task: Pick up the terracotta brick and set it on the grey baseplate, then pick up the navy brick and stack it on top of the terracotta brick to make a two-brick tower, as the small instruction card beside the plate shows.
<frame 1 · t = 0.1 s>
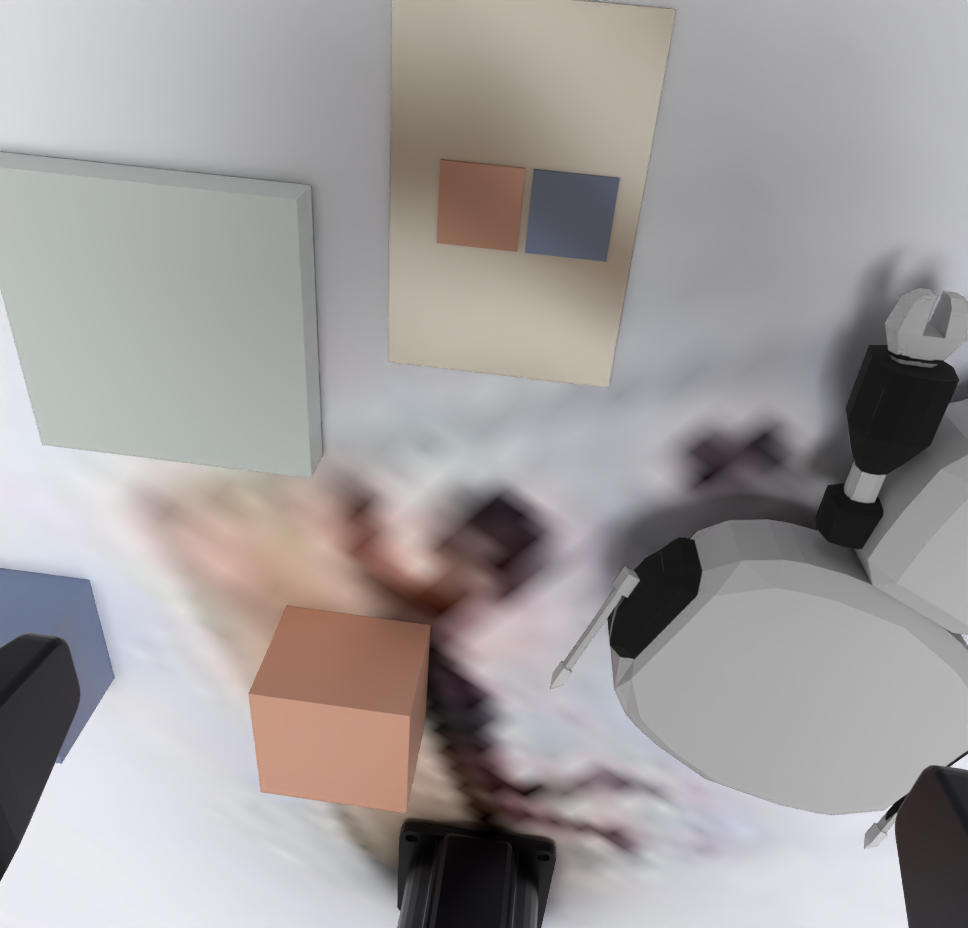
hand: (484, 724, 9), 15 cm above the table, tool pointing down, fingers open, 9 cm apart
instruction card: (513, 206, 20), on the table
robot toy: (849, 539, 25), on the table
navy brick: (38, 619, 31), on the table
grey baseplate: (174, 317, 23), on the table
terracotta brick: (359, 662, 30), on the table
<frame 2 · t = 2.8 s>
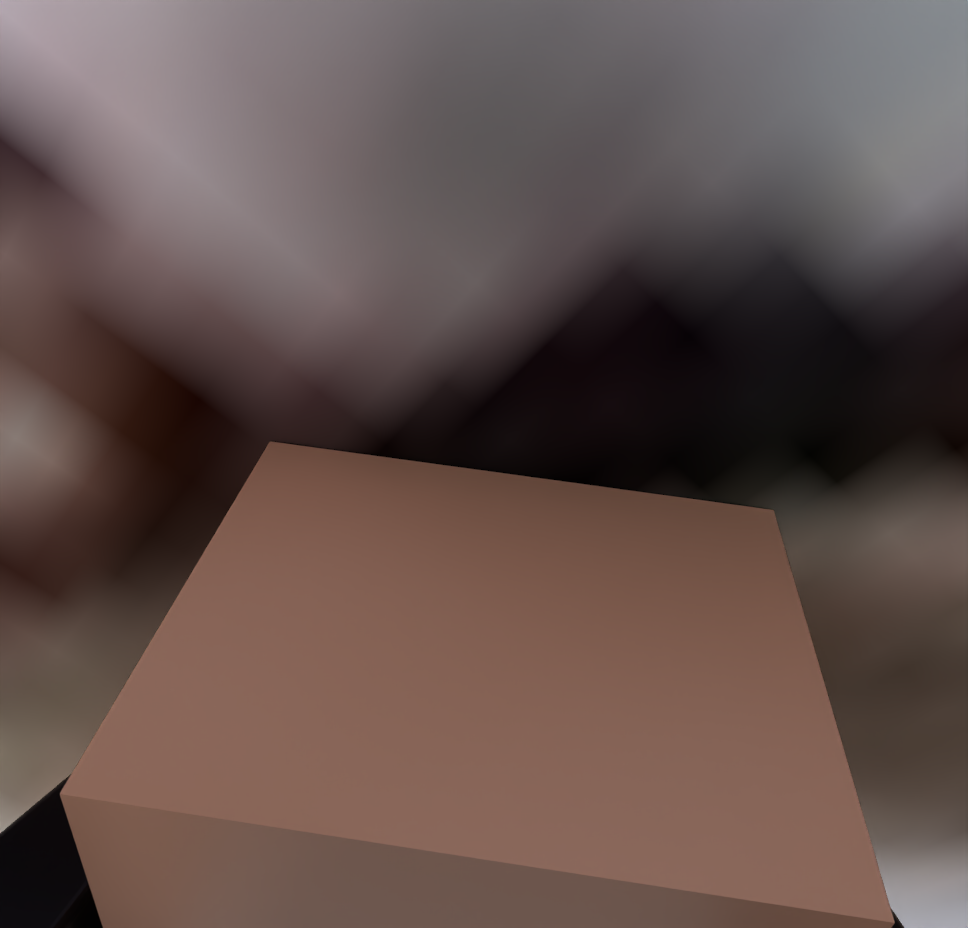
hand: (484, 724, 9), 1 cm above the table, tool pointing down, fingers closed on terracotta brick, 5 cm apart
terracotta brick: (494, 651, 10), on the table, touching gripper
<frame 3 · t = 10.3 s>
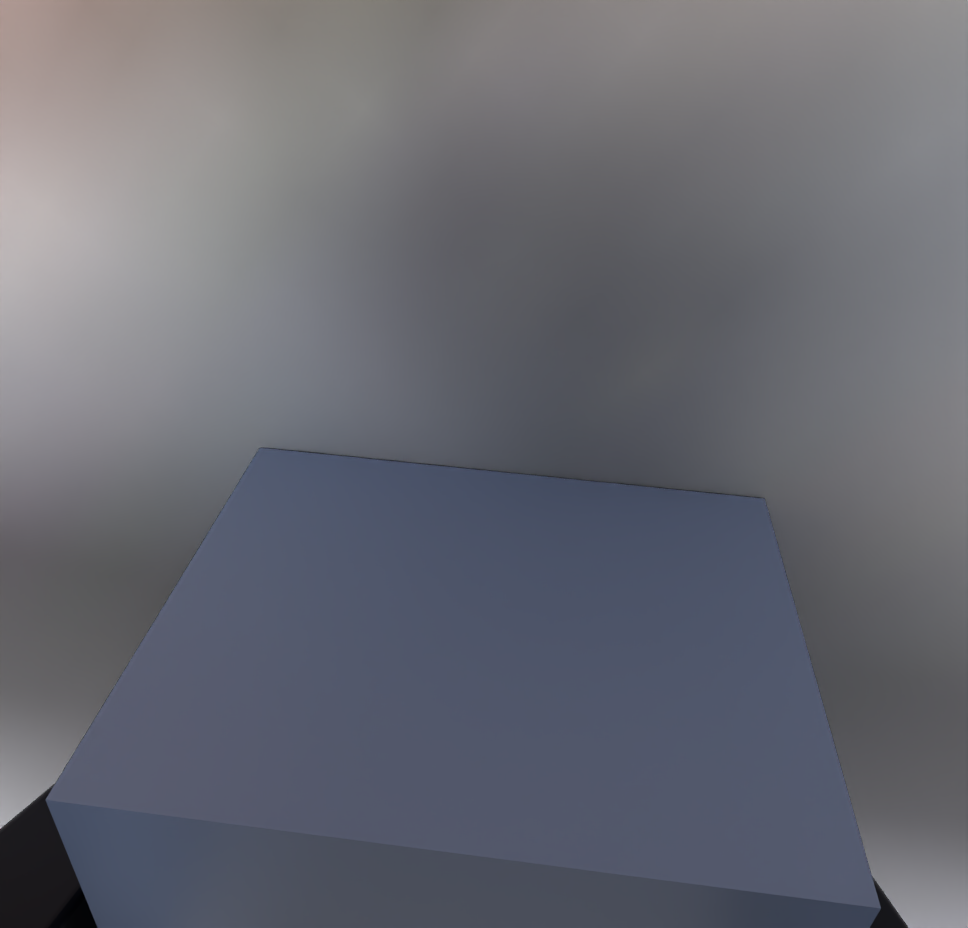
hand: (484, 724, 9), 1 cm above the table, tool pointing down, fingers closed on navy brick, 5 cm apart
navy brick: (493, 650, 10), on the table, touching gripper
when the fingers open (7 cm above the table, at t = 13.3 s): navy brick drops 1 cm, resting on terracotta brick.
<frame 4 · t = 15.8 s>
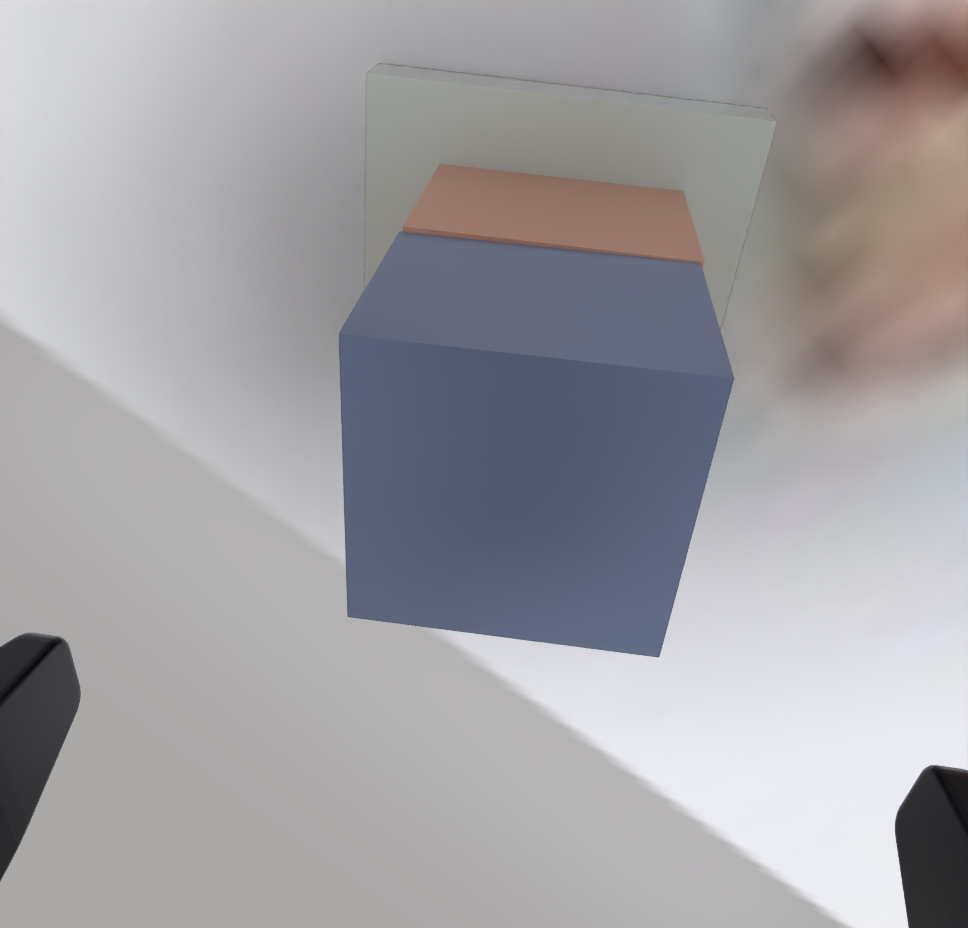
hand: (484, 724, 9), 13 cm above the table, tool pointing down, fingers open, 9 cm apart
navy brick: (533, 380, 15), point 5 cm above the table, touching terracotta brick
grey baseplate: (545, 270, 20), on the table
terracotta brick: (545, 292, 19), point 1 cm above the table, touching grey baseplate, navy brick
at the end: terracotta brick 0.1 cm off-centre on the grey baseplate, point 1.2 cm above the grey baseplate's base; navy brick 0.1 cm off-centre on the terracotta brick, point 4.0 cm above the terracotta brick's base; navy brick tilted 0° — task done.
